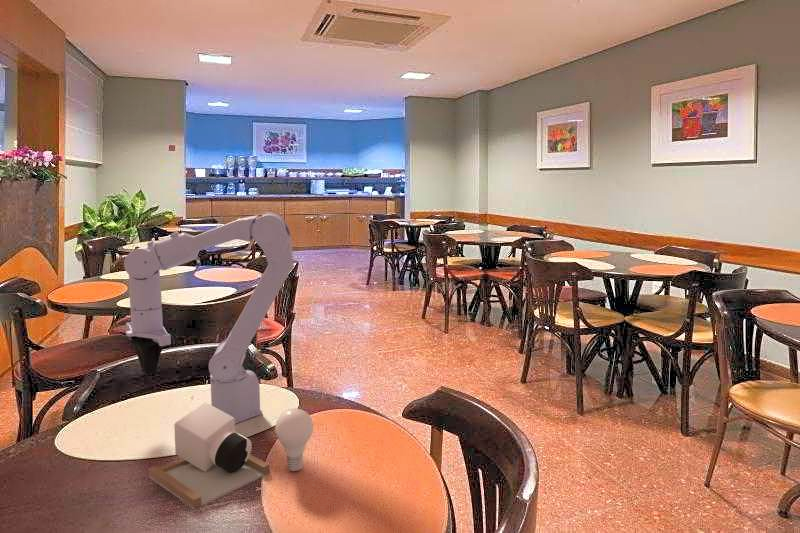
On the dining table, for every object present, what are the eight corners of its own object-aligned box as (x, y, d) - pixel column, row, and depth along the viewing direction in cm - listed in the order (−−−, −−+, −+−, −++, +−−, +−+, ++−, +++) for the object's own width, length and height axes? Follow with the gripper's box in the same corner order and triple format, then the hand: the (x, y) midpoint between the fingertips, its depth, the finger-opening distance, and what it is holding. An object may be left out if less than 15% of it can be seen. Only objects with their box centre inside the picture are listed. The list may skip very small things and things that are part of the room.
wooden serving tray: (222, 447, 104) (222, 439, 104) (269, 473, 95) (269, 464, 95) (149, 477, 93) (148, 468, 93) (194, 509, 84) (193, 500, 84)
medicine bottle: (174, 454, 97) (226, 486, 92) (173, 423, 94) (227, 454, 89) (205, 431, 103) (256, 460, 98) (205, 400, 100) (257, 429, 95)
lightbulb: (320, 464, 98) (319, 405, 96) (302, 483, 92) (301, 420, 90) (288, 458, 100) (287, 400, 98) (269, 475, 94) (267, 414, 93)
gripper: (109, 304, 112) (113, 369, 114) (143, 317, 103) (147, 387, 105) (144, 299, 118) (147, 361, 120) (179, 310, 109) (182, 377, 111)
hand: (149, 372), depth 113 cm, fingers closed
